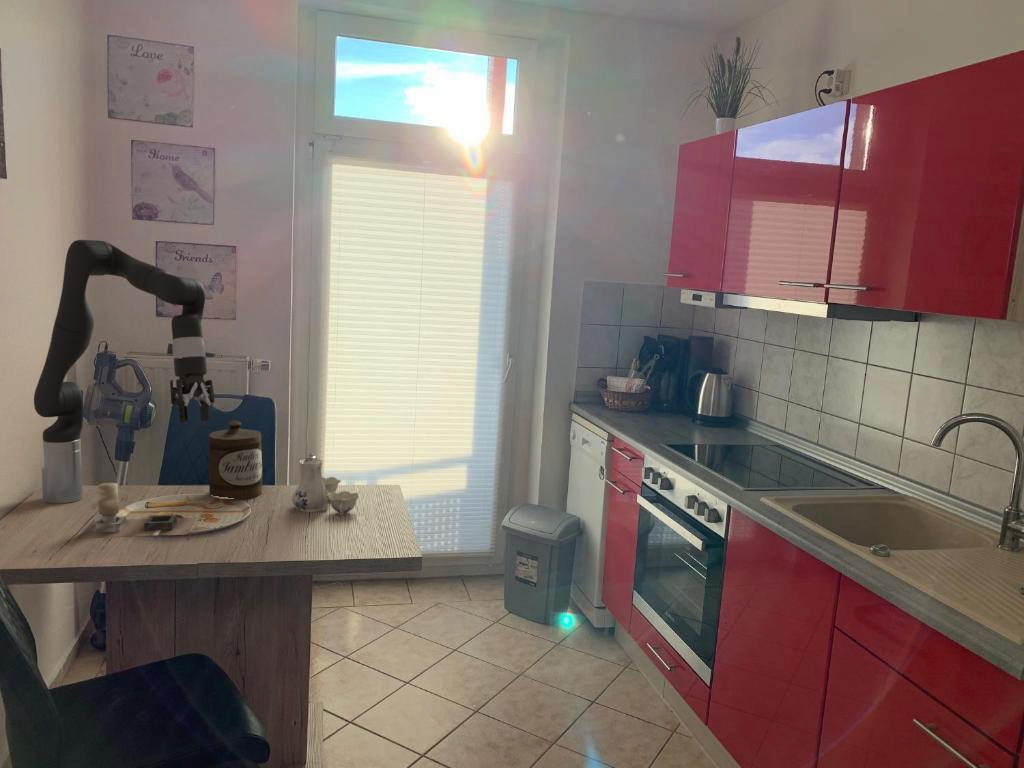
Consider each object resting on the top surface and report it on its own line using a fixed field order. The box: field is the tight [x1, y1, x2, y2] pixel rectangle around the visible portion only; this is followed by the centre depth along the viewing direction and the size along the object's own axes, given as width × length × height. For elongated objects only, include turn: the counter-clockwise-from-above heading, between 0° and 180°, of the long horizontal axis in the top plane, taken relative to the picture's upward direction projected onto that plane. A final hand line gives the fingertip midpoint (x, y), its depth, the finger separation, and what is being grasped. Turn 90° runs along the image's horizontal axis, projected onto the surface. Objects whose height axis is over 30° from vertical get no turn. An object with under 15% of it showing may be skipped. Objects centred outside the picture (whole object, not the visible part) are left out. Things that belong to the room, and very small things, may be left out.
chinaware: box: [291, 451, 360, 516], centre depth 231 cm, size 28×17×17 cm, turn 34°
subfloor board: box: [76, 511, 198, 541], centre depth 203 cm, size 25×14×4 cm, turn 102°
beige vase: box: [97, 482, 120, 523], centre depth 201 cm, size 4×4×11 cm
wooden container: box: [208, 420, 263, 501], centre depth 240 cm, size 15×15×22 cm
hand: (195, 421), depth 203 cm, fingers open, 8 cm apart
